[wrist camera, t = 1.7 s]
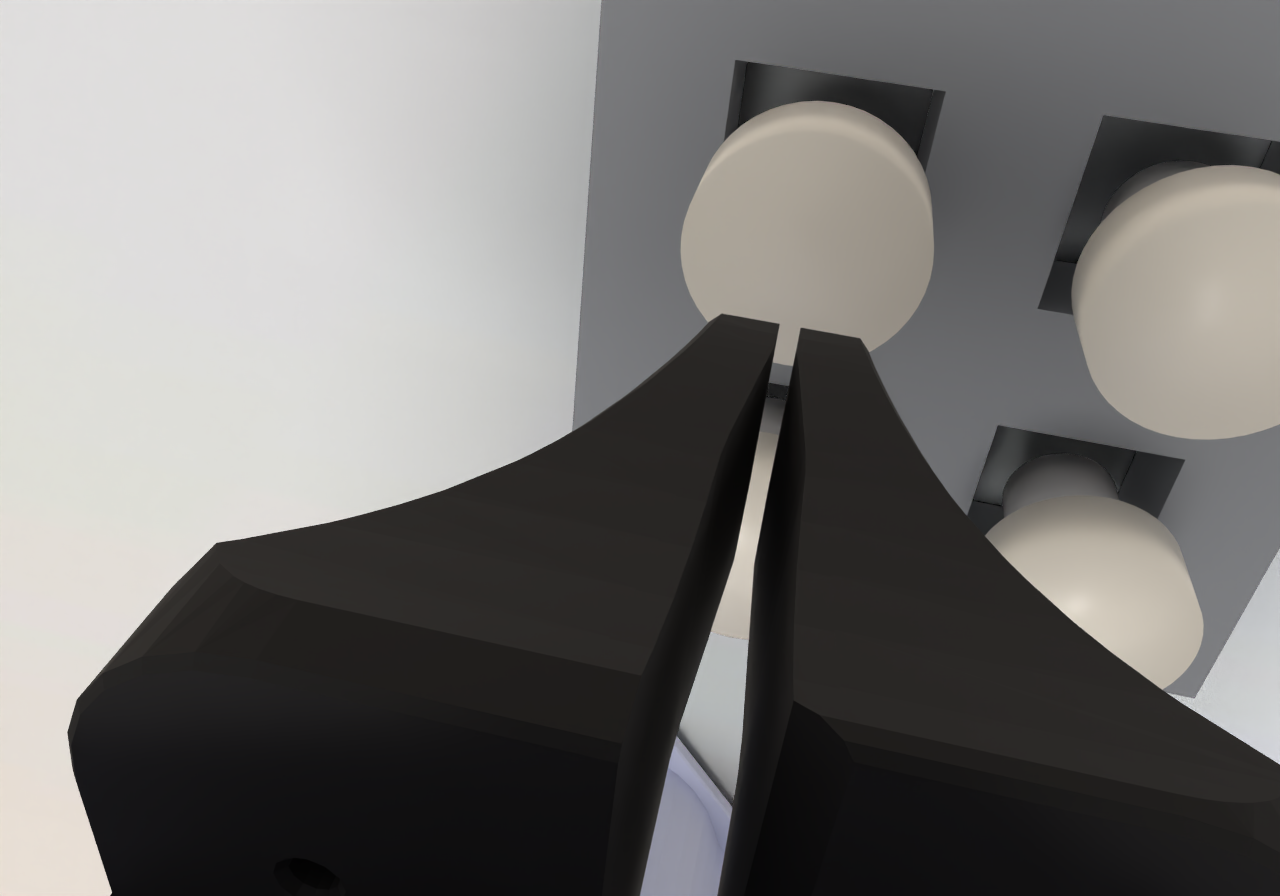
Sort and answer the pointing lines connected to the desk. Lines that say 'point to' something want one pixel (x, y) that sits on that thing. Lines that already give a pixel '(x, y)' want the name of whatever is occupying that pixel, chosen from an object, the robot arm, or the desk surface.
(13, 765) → the desk surface
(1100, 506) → the button
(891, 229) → the button
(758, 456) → the button
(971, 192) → the board
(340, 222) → the desk surface
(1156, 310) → the button
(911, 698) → the robot arm
